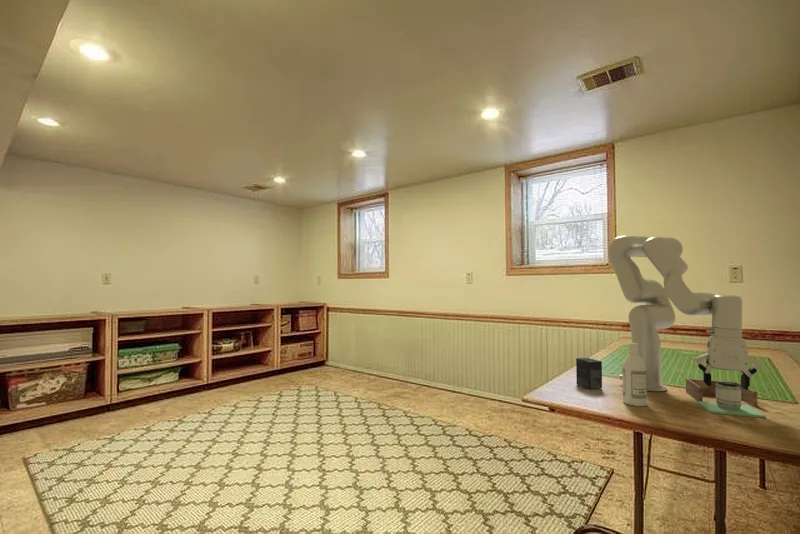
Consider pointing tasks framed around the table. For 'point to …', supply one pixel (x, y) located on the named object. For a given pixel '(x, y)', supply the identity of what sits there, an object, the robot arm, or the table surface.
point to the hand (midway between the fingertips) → (726, 386)
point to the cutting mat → (743, 411)
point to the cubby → (699, 387)
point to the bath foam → (634, 378)
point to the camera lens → (728, 395)
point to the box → (589, 373)
